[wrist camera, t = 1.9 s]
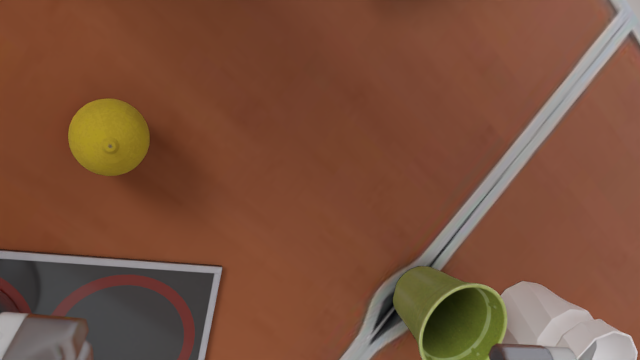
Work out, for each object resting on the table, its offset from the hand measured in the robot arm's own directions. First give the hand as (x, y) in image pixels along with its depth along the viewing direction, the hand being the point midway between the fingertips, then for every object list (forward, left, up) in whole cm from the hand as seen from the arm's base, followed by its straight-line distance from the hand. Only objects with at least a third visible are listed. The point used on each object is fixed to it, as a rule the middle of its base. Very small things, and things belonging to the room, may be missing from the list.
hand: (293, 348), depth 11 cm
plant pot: (+29, +14, -37) cm, 49 cm away
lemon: (-1, -3, -37) cm, 37 cm away
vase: (+40, +24, -37) cm, 59 cm away
